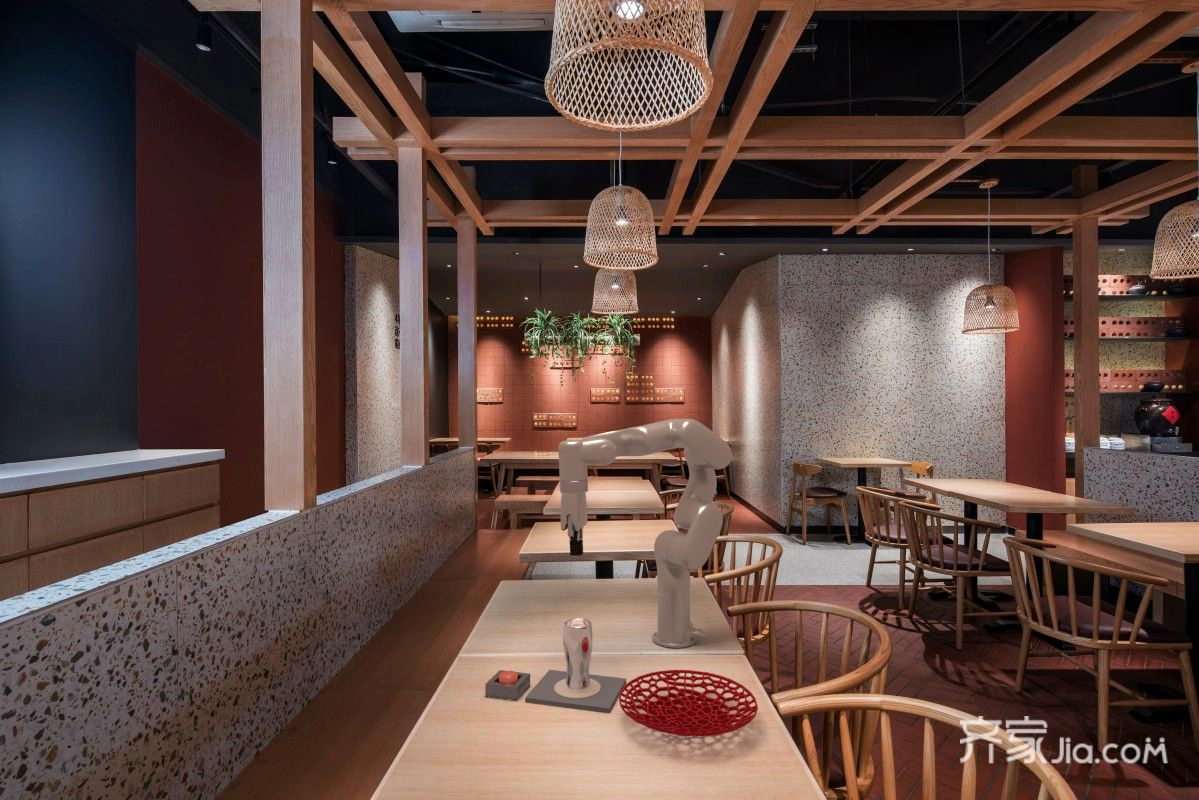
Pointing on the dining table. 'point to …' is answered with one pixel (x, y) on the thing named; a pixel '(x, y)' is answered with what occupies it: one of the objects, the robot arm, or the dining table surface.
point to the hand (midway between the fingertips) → (576, 554)
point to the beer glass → (577, 653)
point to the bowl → (688, 704)
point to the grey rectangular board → (592, 699)
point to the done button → (508, 677)
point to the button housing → (507, 687)
